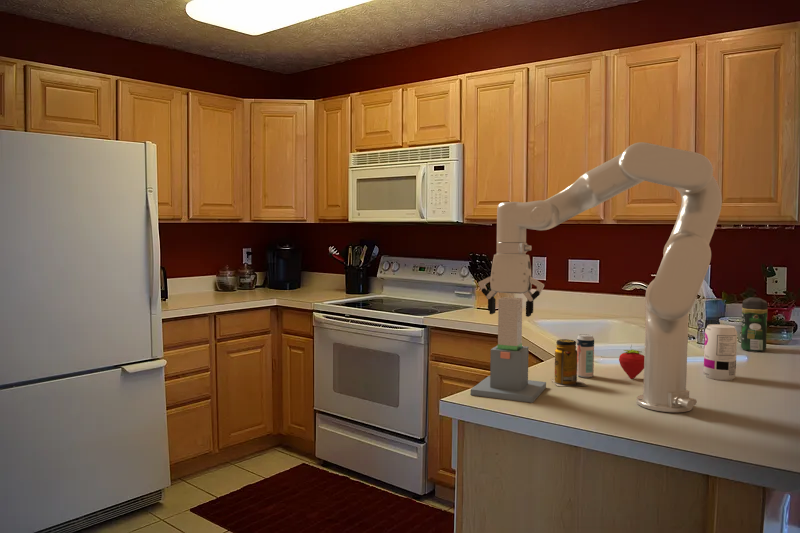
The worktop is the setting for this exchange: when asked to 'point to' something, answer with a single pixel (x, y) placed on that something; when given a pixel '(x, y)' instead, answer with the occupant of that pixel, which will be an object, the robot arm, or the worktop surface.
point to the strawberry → (632, 362)
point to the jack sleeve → (509, 377)
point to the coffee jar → (754, 324)
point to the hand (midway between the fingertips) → (510, 314)
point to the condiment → (566, 364)
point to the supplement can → (720, 352)
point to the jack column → (509, 324)
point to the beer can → (585, 356)
